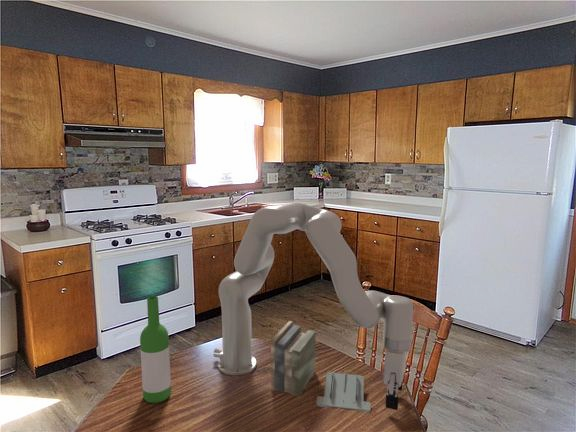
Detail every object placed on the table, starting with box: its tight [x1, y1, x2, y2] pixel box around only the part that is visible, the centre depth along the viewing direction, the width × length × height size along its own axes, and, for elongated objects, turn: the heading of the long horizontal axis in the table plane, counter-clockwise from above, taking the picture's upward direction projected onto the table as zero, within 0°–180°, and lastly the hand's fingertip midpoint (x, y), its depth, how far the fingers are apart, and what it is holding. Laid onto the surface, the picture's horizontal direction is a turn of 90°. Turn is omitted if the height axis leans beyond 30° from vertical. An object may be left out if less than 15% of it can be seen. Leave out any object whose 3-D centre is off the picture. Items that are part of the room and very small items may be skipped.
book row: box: [270, 320, 317, 398], centre depth 124 cm, size 9×14×16 cm, turn 158°
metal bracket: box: [315, 369, 372, 413], centre depth 118 cm, size 14×6×15 cm
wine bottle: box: [139, 295, 172, 404], centre depth 115 cm, size 8×8×30 cm
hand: (394, 398), depth 114 cm, fingers open, 9 cm apart
